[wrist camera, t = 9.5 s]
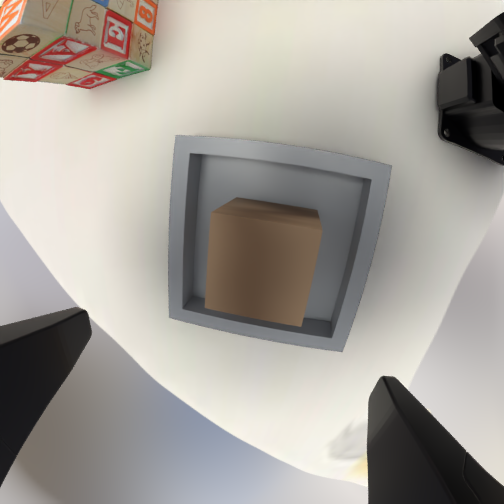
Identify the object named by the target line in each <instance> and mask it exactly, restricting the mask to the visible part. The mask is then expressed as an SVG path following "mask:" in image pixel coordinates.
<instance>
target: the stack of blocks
mask: <svg viewBox="0 0 504 504" xmlns="http://www.w3.org/2000/svg"><path fill="white" fill-rule="evenodd" d="M157 5H158V0H0V77H3V78H4V80H12V81H14V80H16V81H26V82H28V81H30V82H37V81H39V82H48V83H57V84H66V85H69V86H75V87H81V88H86V89H91V88H93V87H96V86H99V85H102V84H105V83H108V82H111V81H114V80H116V79H118V78H121V77H125V76H128V75H131V74H135V73H139V72H142V71H146V70H150V69H151V58H152V45H153V36H154V33H155V24H156V15H157Z"/></svg>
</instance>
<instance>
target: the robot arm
mask: <svg viewBox="0 0 504 504" xmlns="http://www.w3.org/2000/svg"><path fill="white" fill-rule="evenodd" d="M469 39H470V40H471V42H472V43H473V45H474V46H475V47H477V48H478V49H479V51H480V52H481V54H480V55H478V56H476V57H474V58H471V57H466V58H465V59H463V60H460V59H458V58H456V57H454V56H452V55H450V54H443V55H442V56H441V58H440V62H441V72H440V73H439V81H438V106H439V108H440V116H439V129H438V134H439V136H440V138H441V139H442V140H444V141H446V142H449V143H452V144H454V145H457V146H459V147H462V148H464V149H466V150H469V151H471V152H473V153H476V154H478V155H480V156H482V157H485V158H487V159H489V160H491V161H493V162H495V163H497V164H499V165H504V12H503V13H501V14H500V15H498V16H497V17H495V18H494V19H493V20H491V21H490V22H489V23H488V24H486V25H485V26H484V27H483V28H481V29H480V30H479V31H478V32H476V33H475V34H474V35H473V36H471V37H470V38H469ZM446 59H448V60H449V63H448V62H447V61H446ZM444 130H446V131H447V134H448V135H447V137H446V136H445V134H444ZM501 157H503V161H502V158H501ZM91 335H92V330H91V325H90V320H89V315H88V313H87V311H86V310H84V309H81V308H79V307H74V308H70V309H66V310H62V311H58V312H55V313H50V314H47V315H43V316H39V317H35V318H31V319H27V320H23V321H19V322H15V323H11V324H7V325H3V326H0V487H1V485H2V483H3V481H4V479H5V477H6V475H7V473H8V471H9V470H10V467H11V466H12V464H13V462H14V460H15V459H16V457H17V456H16V455H18V453H19V451H20V449H21V448H22V446H23V444H24V443H25V441H26V439H27V438H28V436H29V434H30V433H31V431H32V429H33V428H34V426H35V424H36V423H37V421H38V420H39V418H40V417H41V415H42V414H43V412H44V410H45V409H46V407H47V406H48V404H49V403H50V401H51V400H52V398H53V397H54V395H55V394H56V392H57V391H58V389H59V388H60V387H61V385H62V384H63V382H64V381H65V379H66V378H67V376H68V375H69V374H70V372H71V370H72V369H73V367H74V365H75V364H76V362H77V360H78V358H79V357H80V355H81V353H82V351H83V350H84V348H85V346H86V345H87V343H88V341H89V340H90V338H91ZM367 461H368V504H504V486H503V485H502V484H500V483H499V482H498V481H497V480H496V479H495V478H493V477H492V476H491V475H490V474H489V473H488V472H487V471H486V470H485V469H484V468H483V467H482V466H481V465H480V464H479V463H478V462H477V461H476V460H475V459H474V458H473V457H472V456H471V455H470V454H469V453H468V452H466V450H465V449H464V448H463V447H462V446H461V445H460V444H459V443H458V441H457V440H455V438H454V437H453V436H452V435H451V434H450V433H449V432H448V431H447V430H446V429H445V428H444V427H443V426H442V425H441V424H440V423H439V422H438V421H437V420H436V418H434V417H433V415H432V414H431V413H430V412H429V411H428V410H427V409H426V408H425V407H424V406H423V405H422V404H421V403H420V402H419V401H418V400H417V399H416V398H415V397H414V396H413V395H412V394H411V393H410V392H409V391H408V390H407V389H406V388H405V387H404V386H403V385H402V384H401V383H400V382H399V380H398V379H397V378H395V377H393V376H382V377H380V378H379V380H378V382H377V384H376V386H375V387H374V389H373V391H372V393H371V395H370V397H369V402H368V432H367Z"/></svg>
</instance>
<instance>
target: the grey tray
mask: <svg viewBox="0 0 504 504" xmlns="http://www.w3.org/2000/svg"><path fill="white" fill-rule="evenodd" d="M391 168H392V166H391V165H387V164H383V163H379V162H375V161H371V160H367V159H362V158H358V157H353V156H349V155H344V154H339V153H334V152H328V151H323V150H317V149H311V148H305V147H299V146H292V145H286V144H278V143H271V142H262V141H253V140H244V139H233V138H221V137H206V136H185V135H176V136H175V146H174V156H173V168H172V181H171V197H170V217H169V255H168V287H169V318H172V319H176V320H180V321H183V322H187V323H191V324H195V325H199V326H203V327H208V328H212V329H216V330H221V331H225V332H229V333H234V334H239V335H244V336H248V337H253V338H258V339H264V340H269V341H274V342H280V343H285V344H291V345H297V346H304V347H310V348H317V349H323V350H331V351H338V352H342V351H343V349H344V346H345V343H346V341H347V338H348V335H349V332H350V330H351V327H352V324H353V321H354V318H355V315H356V312H357V309H358V306H359V303H360V299H361V296H362V293H363V290H364V286H365V283H366V280H367V276H368V273H369V269H370V265H371V262H372V258H373V254H374V250H375V246H376V242H377V238H378V234H379V230H380V225H381V221H382V216H383V211H384V206H385V201H386V196H387V191H388V185H389V180H390V174H391ZM236 197H239V198H246V199H253V200H259V201H266V202H272V203H279V204H285V205H291V206H297V207H303V208H309V209H314V210H318V214H319V218H320V222H321V226H322V230H323V232H322V237H321V242H320V247H319V252H318V257H317V261H316V266H315V271H314V275H313V280H312V284H311V289H310V293H309V297H308V301H307V306H306V310H305V314H304V318H303V322H302V326H301V327H299V326H293V325H287V324H281V323H276V322H270V321H265V320H260V319H255V318H249V317H244V316H240V315H235V314H230V313H225V312H221V311H216V310H211V309H207V308H205V293H206V275H207V259H208V244H209V230H210V218H211V212H212V211H214V210H216V209H217V208H219V207H221V206H222V205H224V204H226V203H227V202H229V201H231V200H233V199H234V198H236Z"/></svg>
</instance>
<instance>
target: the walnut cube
mask: <svg viewBox="0 0 504 504" xmlns="http://www.w3.org/2000/svg"><path fill="white" fill-rule="evenodd" d="M322 232H323V230H322V226H321V222H320V218H319V214H318V210H314V209H309V208H303V207H297V206H291V205H285V204H279V203H272V202H266V201H259V200H253V199H246V198H239V197H236V198H234V199H233V200H231V201H229V202H227V203H226V204H224V205H222V206H221V207H219V208H217V209H216V210H214V211H212V212H211V218H210V230H209V244H208V259H207V275H206V293H205V308H207V309H211V310H216V311H221V312H225V313H230V314H235V315H240V316H244V317H249V318H255V319H260V320H265V321H270V322H276V323H281V324H287V325H293V326H299V327H301V326H302V322H303V318H304V314H305V310H306V306H307V301H308V297H309V293H310V289H311V284H312V280H313V275H314V271H315V266H316V261H317V257H318V252H319V247H320V242H321V237H322Z"/></svg>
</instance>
